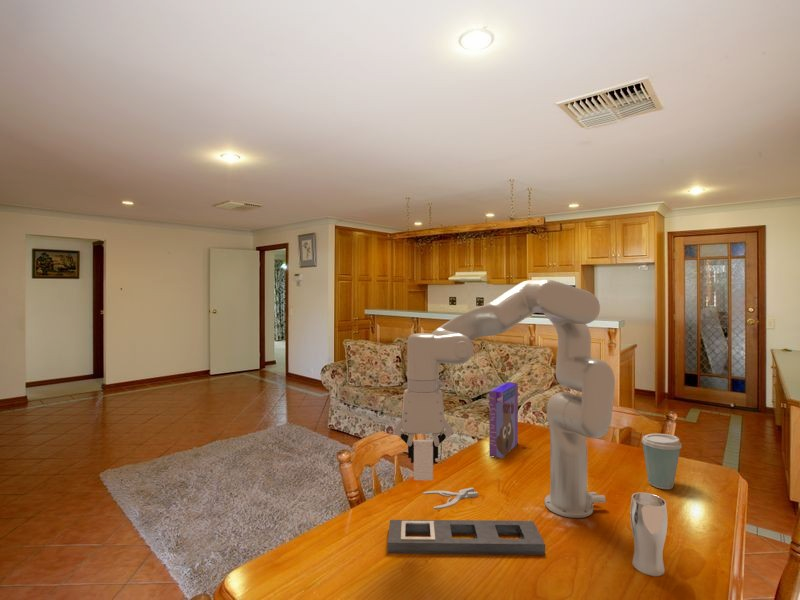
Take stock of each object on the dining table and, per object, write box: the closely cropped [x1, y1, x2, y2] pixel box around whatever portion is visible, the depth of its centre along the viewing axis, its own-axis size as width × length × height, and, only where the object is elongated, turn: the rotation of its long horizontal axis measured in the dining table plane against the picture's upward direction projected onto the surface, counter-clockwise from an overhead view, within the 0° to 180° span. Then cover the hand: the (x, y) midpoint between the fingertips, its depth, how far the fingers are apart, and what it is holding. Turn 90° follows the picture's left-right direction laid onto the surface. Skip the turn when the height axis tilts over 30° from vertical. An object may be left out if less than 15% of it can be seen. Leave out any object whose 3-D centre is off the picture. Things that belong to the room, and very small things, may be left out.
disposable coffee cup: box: [641, 433, 682, 490], centre depth 134 cm, size 11×11×15 cm
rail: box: [387, 519, 546, 556], centre depth 105 cm, size 36×10×3 cm, turn 88°
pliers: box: [422, 487, 479, 510], centre depth 127 cm, size 10×2×15 cm
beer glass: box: [629, 491, 668, 577], centre depth 94 cm, size 7×7×15 cm
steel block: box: [413, 439, 434, 481], centre depth 104 cm, size 4×4×8 cm
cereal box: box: [488, 381, 519, 459], centre depth 163 cm, size 17×5×24 cm, turn 147°
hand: (423, 460), depth 104 cm, fingers closed on steel block, 4 cm apart
